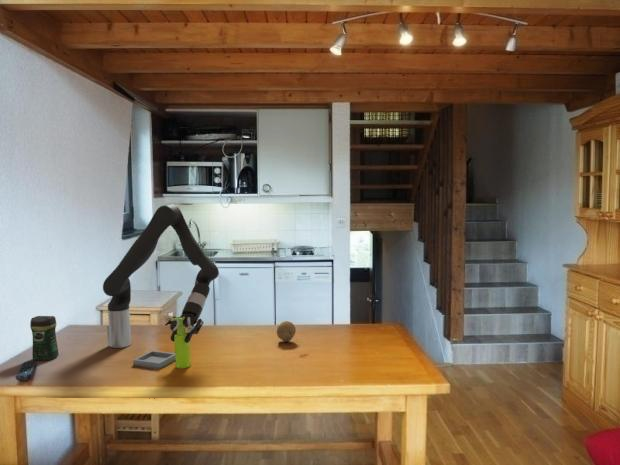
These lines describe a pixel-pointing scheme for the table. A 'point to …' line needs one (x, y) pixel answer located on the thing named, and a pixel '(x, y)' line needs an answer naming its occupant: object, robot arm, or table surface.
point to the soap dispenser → (181, 346)
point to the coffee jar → (44, 338)
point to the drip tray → (154, 359)
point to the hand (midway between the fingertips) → (179, 341)
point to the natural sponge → (286, 331)
